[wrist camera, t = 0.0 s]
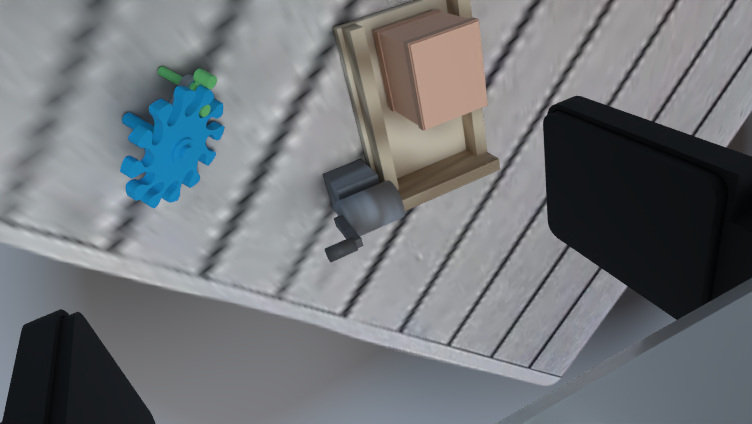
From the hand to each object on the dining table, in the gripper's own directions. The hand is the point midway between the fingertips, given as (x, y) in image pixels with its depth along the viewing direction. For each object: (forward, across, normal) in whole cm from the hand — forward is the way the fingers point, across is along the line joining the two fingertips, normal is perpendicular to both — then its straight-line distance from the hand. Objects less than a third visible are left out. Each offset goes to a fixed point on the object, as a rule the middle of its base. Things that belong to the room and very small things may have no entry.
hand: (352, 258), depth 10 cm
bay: (+37, -14, +13) cm, 41 cm away
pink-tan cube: (+35, -18, +9) cm, 41 cm away
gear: (+37, +3, +8) cm, 38 cm away
